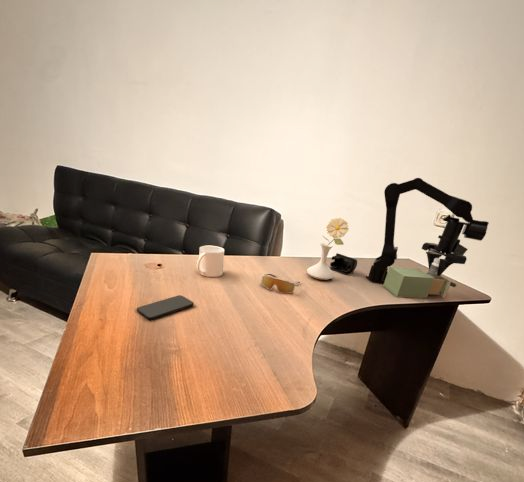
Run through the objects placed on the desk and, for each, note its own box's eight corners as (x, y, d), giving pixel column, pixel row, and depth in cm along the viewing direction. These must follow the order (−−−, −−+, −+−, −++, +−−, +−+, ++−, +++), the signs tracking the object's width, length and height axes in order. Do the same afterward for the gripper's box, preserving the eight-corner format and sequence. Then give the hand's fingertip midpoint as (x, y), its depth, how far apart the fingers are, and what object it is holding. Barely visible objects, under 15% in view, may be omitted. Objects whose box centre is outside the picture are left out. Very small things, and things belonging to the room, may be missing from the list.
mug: (212, 267, 122) (214, 244, 117) (227, 274, 117) (229, 251, 112) (187, 272, 114) (187, 247, 109) (202, 280, 109) (202, 255, 104)
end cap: (354, 272, 139) (358, 258, 136) (347, 275, 134) (351, 260, 131) (336, 266, 145) (339, 252, 142) (328, 268, 140) (331, 254, 137)
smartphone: (134, 307, 83) (180, 294, 94) (135, 310, 84) (180, 297, 94) (149, 318, 79) (195, 303, 90) (149, 321, 80) (195, 305, 90)
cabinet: (411, 287, 131) (418, 268, 127) (426, 298, 122) (435, 278, 118) (383, 285, 128) (389, 266, 124) (396, 296, 119) (404, 276, 115)
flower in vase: (300, 275, 127) (313, 213, 115) (315, 270, 135) (327, 212, 123) (327, 285, 120) (343, 221, 108) (341, 280, 128) (357, 219, 116)
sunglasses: (255, 286, 109) (257, 273, 107) (269, 280, 123) (271, 268, 121) (292, 297, 105) (295, 283, 104) (302, 289, 119) (305, 276, 117)
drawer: (439, 287, 133) (446, 273, 130) (454, 296, 125) (462, 281, 122) (404, 285, 129) (410, 270, 126) (418, 295, 121) (424, 279, 118)
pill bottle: (433, 281, 121) (442, 261, 118) (423, 277, 125) (431, 257, 121) (440, 280, 124) (449, 261, 120) (430, 276, 127) (438, 257, 123)
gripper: (487, 243, 109) (468, 283, 117) (451, 231, 125) (436, 266, 133) (461, 240, 107) (443, 281, 115) (428, 228, 123) (414, 265, 131)
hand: (434, 273), depth 123 cm, fingers closed on pill bottle, 5 cm apart
